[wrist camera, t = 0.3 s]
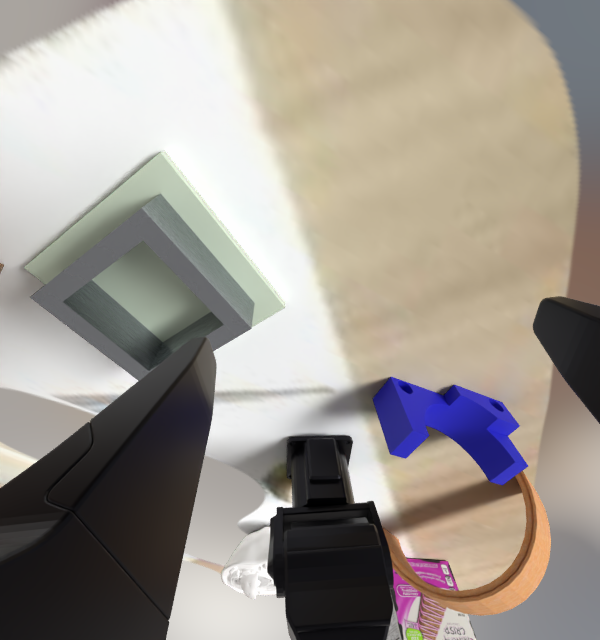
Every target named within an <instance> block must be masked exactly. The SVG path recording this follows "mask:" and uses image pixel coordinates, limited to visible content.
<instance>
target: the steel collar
mask: <svg viewBox="0 0 600 640" xmlns="http://www.w3.org/2000/svg"><path fill="white" fill-rule="evenodd" d="M142 241H144V242H145V243H146V244H147V245H148V246H149V247H150V248H151V249H152V250H153V251H154V252H155V253H156V255H157V256H158V257H159V258H160V259H161V260H162V261H163V262H164V263H165V264H166V265H167V266H168V267H169V268H170V269H171V270H172V271H173V272H174V273H175V274H176V275H177V276H178V277H179V278H180V279H181V280H182V282H183V283H184V284H185V285H186V286H187V287H188V288H189V289H190V290H191V291H192V292H193V293H194V294H195V295H196V296H197V297H198V298H199V299H200V300H201V301H202V302H203V303H204V304H205V305H206V306H207V307H208V308H209V310H210V311H211V312H210V313H208V314H207V315H205V316H203V317H202V318H200V319H199V320H197V321H195V322H194V323H192V324H191V325H189V326H188V327H186V328H184V329H183V330H181V331H180V332H178V333H177V334H175V335H173V336H172V337H170V338H169V339H167V340H166V341H164V342H162V341H161V340H160V339H159V338H157V337H156V336H155V335H154V334H153V333H152V332H151V331H149V330H148V329H147V328H146V327H145V326H144V325H143V324H141V323H140V322H139V321H138V320H137V319H136V318H135V317H134V316H132V315H131V314H130V313H129V312H128V311H127V310H126V309H124V308H123V307H122V306H121V305H120V304H119V303H118V302H116V301H115V300H114V299H113V298H112V297H111V296H110V295H108V294H107V293H106V292H105V291H104V290H103V289H102V288H101V287H99V286H98V285H97V284H96V283H95V282H94V281H93V280H92V279H93V278H94V277H96V276H97V275H98V274H100V273H101V272H102V271H104V270H105V269H106V268H108V267H109V266H110V265H111V264H113V263H114V262H115V261H117V260H118V259H119V258H121V257H122V256H123V255H125V254H126V253H127V252H129V251H130V250H131V249H132V248H134V247H135V246H136V245H138V244H139V243H140V242H142ZM30 298H32V299H33V300H34V301H35V302H37V303H38V304H39V305H41V306H42V307H43V308H45V309H46V310H47V311H49V312H50V313H51V314H52V315H54V316H55V317H56V318H58V319H59V320H60V321H62V322H63V323H64V324H65V325H67V326H68V327H69V328H71V329H72V330H73V331H75V332H76V333H77V334H78V335H80V336H81V337H82V338H84V339H85V340H86V341H88V342H89V343H90V344H92V345H93V346H94V347H95V348H97V349H98V350H99V351H101V352H102V353H103V354H105V355H106V356H107V357H108V358H110V359H111V360H112V361H114V362H115V363H116V364H118V365H119V366H120V367H122V368H123V369H124V370H125V371H127V372H128V373H129V374H131V375H132V376H133V377H135V378H136V379H137V380H138V381H140V380H141V379H142V378H143V377H144V376H146V375H147V374H148V373H149V372H151V371H152V370H153V369H154V368H156V367H157V366H158V365H159V364H161V363H162V362H163V361H164V360H166V359H167V358H168V357H169V356H170V355H172V354H173V353H174V352H175V351H177V350H178V349H179V348H180V347H182V346H183V345H184V344H185V343H187V342H188V341H189V340H190V339H192V338H196V337H207V338H208V339H209V340H210V343H211V347H212V350H213V351H215V350H216V349H218V348H220V347H221V346H223V345H225V344H226V343H228V342H230V341H231V340H233V339H235V338H236V337H238V336H240V335H241V334H243V333H245V332H247V331H248V330H250V329H251V328H252V320H253V312H254V304H255V303H254V302H253V300H252V299H251V298H250V297H249V296H248V295H247V293H246V292H245V291H244V290H243V289H242V288H241V287H240V285H239V284H238V283H237V282H236V281H235V280H234V278H233V277H232V276H231V275H230V274H229V273H228V271H227V270H226V269H225V268H224V267H223V266H222V264H221V263H220V262H219V261H218V260H217V259H216V257H215V256H214V255H213V254H212V253H211V252H210V250H209V249H208V248H207V247H206V246H205V245H204V243H203V242H202V241H201V240H200V239H199V238H198V236H197V235H196V234H195V233H194V232H193V231H192V229H191V228H190V227H189V226H188V225H187V224H186V222H185V221H184V220H183V219H182V218H181V217H180V215H179V214H178V213H177V212H176V211H175V210H174V208H173V207H172V206H171V205H170V204H169V203H168V201H167V200H166V199H165V198H164V197H163V196H162V194H160V195H158V196H157V197H156V198H154V199H153V200H152V201H150V202H149V203H148V204H146V205H145V206H144V207H142V208H141V209H140V210H138V211H137V212H136V213H135V214H133V215H132V216H131V217H130V218H128V219H127V220H126V221H125V222H123V223H122V224H121V225H120V226H118V227H117V228H116V229H115V230H113V231H112V232H111V233H110V234H108V235H107V236H106V237H105V238H103V239H102V240H101V241H100V242H98V243H97V244H96V245H95V246H93V247H92V248H91V249H90V250H88V251H87V252H86V253H85V254H83V255H82V256H81V257H80V258H78V259H77V260H76V261H75V262H73V263H72V264H71V265H70V266H68V267H67V268H66V269H65V270H63V271H62V272H61V273H60V274H58V275H57V276H56V277H55V278H53V279H52V280H51V281H50V282H48V283H47V284H46V285H45V286H43V287H42V288H41V289H40V290H38V291H37V292H36V293H35V294H33V295H32V296H31V297H30Z"/></svg>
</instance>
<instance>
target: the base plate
mask: <svg viewBox="0 0 600 640" xmlns="http://www.w3.org/2000/svg"><path fill="white" fill-rule="evenodd" d="M160 194H162V196H163V197H164V198H165V199H166V200H167V201H168V203H169V204H170V205H171V206H172V207H173V208H174V210H175V211H176V212H177V213H178V214H179V215H180V217H181V218H182V219H183V220H184V221H185V222H186V224H187V225H188V226H189V227H190V228H191V229H192V231H193V232H194V233H195V234H196V235H197V236H198V238H199V239H200V240H201V241H202V242H203V243H204V245H205V246H206V247H207V248H208V249H209V250H210V252H211V253H212V254H213V255H214V256H215V257H216V259H217V260H218V261H219V262H220V263H221V264H222V266H223V267H224V268H225V269H226V270H227V271H228V273H229V274H230V275H231V276H232V277H233V278H234V280H235V281H236V282H237V283H238V284H239V285H240V287H241V288H242V289H243V290H244V291H245V292H246V293H247V295H248V296H249V297H250V298H251V299H252V300H253V302H254V303H255V304H254V312H253V320H252V327H253V326H255V325H257V324H258V323H260V322H262V321H263V320H265V319H267V318H269V317H270V316H272V315H274V314H275V313H277V312H279V311H280V310H282V309H284V308H285V302H284V300H283V299H282V298H281V297H280V295H279V294H278V293H277V292H276V290H275V289H274V288H273V286H272V285H271V284H270V283H269V281H268V280H267V279H266V278H265V276H264V275H263V274H262V273H261V271H260V270H259V269H258V268H257V266H256V265H255V264H254V263H253V261H252V260H251V259H250V258H249V256H248V255H247V254H246V253H245V251H244V250H243V249H242V247H241V246H240V245H239V244H238V242H237V241H236V240H235V239H234V237H233V236H232V235H231V234H230V232H229V231H228V230H227V229H226V227H225V226H224V225H223V224H222V222H221V221H220V220H219V219H218V217H217V216H216V215H215V213H214V212H213V211H212V210H211V208H210V207H209V206H208V205H207V203H206V202H205V201H204V200H203V198H202V197H201V196H200V195H199V193H198V192H197V191H196V190H195V188H194V187H193V186H192V185H191V183H190V182H189V181H188V180H187V178H186V177H185V176H184V174H183V173H182V172H181V171H180V169H179V168H178V167H177V166H176V164H175V163H174V162H173V161H172V159H171V158H170V157H169V156H168V154H167V153H166V152H165V151H162V152H160V153H159V154H158V155H156V156H155V157H154V158H153V159H152V160H150V161H149V162H148V163H147V164H146V165H145V166H143V167H142V168H141V169H140V170H139V171H137V172H136V173H135V174H134V175H133V176H131V177H130V178H129V179H128V180H127V181H126V182H124V183H123V184H122V185H121V186H120V187H118V188H117V189H116V190H115V191H114V192H113V193H111V194H110V195H109V196H108V197H107V198H105V199H104V200H103V201H102V202H101V203H99V204H98V205H97V206H96V207H95V208H94V209H92V210H91V211H90V212H89V213H88V214H86V215H85V216H84V217H83V218H82V219H81V220H79V221H78V222H77V223H76V224H75V225H73V226H72V227H71V228H70V229H69V230H67V231H66V232H65V233H64V234H63V235H62V236H60V237H59V238H58V239H57V240H56V241H54V242H53V243H52V244H51V245H50V246H49V247H47V248H46V249H45V250H44V251H43V252H41V253H40V254H39V255H38V256H37V257H35V258H34V259H33V260H32V261H31V262H30V263H28V264H27V265H26V266H25V267H24V268H25V269H26V270H27V271H29V272H30V273H31V274H32V275H34V276H35V277H36V278H37V279H39V280H40V281H41V282H42V283H44V284H45V285H46V284H47V283H48V282H50V281H51V280H52V279H53V278H55V277H56V276H57V275H58V274H60V273H61V272H62V271H63V270H65V269H66V268H67V267H68V266H70V265H71V264H72V263H73V262H75V261H76V260H77V259H78V258H80V257H81V256H82V255H83V254H85V253H86V252H87V251H88V250H90V249H91V248H92V247H93V246H95V245H96V244H97V243H98V242H100V241H101V240H102V239H103V238H105V237H106V236H107V235H108V234H110V233H111V232H112V231H113V230H115V229H116V228H117V227H118V226H120V225H121V224H122V223H123V222H125V221H126V220H127V219H128V218H130V217H131V216H132V215H133V214H135V213H136V212H137V211H138V210H140V209H141V208H142V207H144V206H145V205H146V204H148V203H149V202H150V201H152V200H153V199H154V198H156V197H157V196H158V195H160ZM92 280H93V281H94V282H95V283H96V284H97V285H98V286H99V287H101V288H102V289H103V290H104V291H105V292H106V293H107V294H108V295H110V296H111V297H112V298H113V299H114V300H115V301H116V302H118V303H119V304H120V305H121V306H122V307H123V308H124V309H126V310H127V311H128V312H129V313H130V314H131V315H132V316H134V317H135V318H136V319H137V320H138V321H139V322H140V323H141V324H143V325H144V326H145V327H146V328H147V329H148V330H149V331H151V332H152V333H153V334H154V335H155V336H156V337H157V338H159V339H160V340H161V341H162V342H164V341H166V340H167V339H169V338H170V337H172V336H173V335H175V334H177V333H178V332H180V331H181V330H183V329H184V328H186V327H188V326H189V325H191V324H192V323H194V322H195V321H197V320H199V319H200V318H202V317H203V316H205V315H207V314H208V313H210V312H211V311H210V310H209V308H208V307H207V306H206V305H205V304H204V303H203V302H202V301H201V300H200V299H199V298H198V297H197V296H196V295H195V294H194V293H193V292H192V291H191V290H190V289H189V288H188V287H187V286H186V285H185V284H184V283H183V282H182V280H181V279H180V278H179V277H178V276H177V275H176V274H175V273H174V272H173V271H172V270H171V269H170V268H169V267H168V266H167V265H166V264H165V263H164V262H163V261H162V260H161V259H160V258H159V257H158V256H157V255H156V253H155V252H154V251H153V250H152V249H151V248H150V247H149V246H148V245H147V244H146V243H145V242H144V241H142V242H140V243H139V244H138V245H136V246H135V247H134V248H132V249H131V250H130V251H129V252H127V253H126V254H125V255H123V256H122V257H121V258H119V259H118V260H117V261H115V262H114V263H113V264H111V265H110V266H109V267H108V268H106V269H105V270H104V271H102V272H101V273H100V274H98V275H97V276H96V277H94V278H93V279H92Z"/></svg>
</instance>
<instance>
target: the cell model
mask: <svg viewBox="0 0 600 640" xmlns="http://www.w3.org/2000/svg"><path fill="white" fill-rule="evenodd" d="M269 543H270V527H264V528H262V529H261V530H259V531H256V532H253V533H251V534H249V535H247V536H245V537H244V538H243V540H242V541H241V542H240V544H239V545H238V547H237V548H236V549H235V551H234V552H233V554H232V555H231V557H230V559H229V561H228V562H227V564H226V565H225V567H224V569H223V570H222V572H221V578H222V582H223V583H224V584H225V585H227V586H229V587H231V588H232V589H234V590H235V591H237V592H240V593H244V594H245V595H246V596H247V597H249V598H251V599H255V598H256V594H258V595H276V586H274V580H273V579H272V578H271V577H270V576H269V574H268V573H267V562H268V553H269Z"/></svg>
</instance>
